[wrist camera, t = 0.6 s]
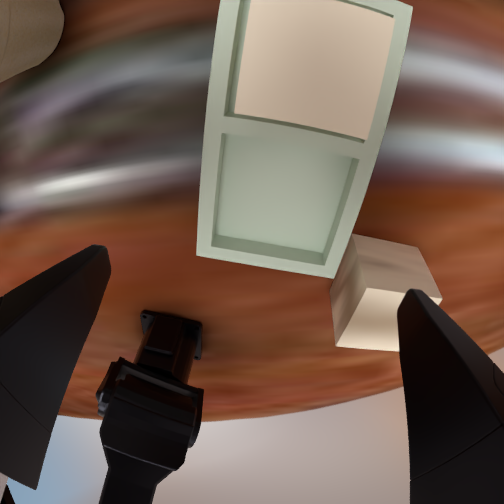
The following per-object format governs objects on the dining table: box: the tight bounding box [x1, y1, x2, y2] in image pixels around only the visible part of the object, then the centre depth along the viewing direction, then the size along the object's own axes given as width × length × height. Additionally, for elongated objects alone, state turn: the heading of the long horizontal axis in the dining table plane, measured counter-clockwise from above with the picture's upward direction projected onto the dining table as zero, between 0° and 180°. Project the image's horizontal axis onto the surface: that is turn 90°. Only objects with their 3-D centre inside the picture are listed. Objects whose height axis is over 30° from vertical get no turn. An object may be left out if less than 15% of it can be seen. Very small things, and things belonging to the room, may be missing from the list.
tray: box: [196, 0, 413, 279], centre depth 16 cm, size 19×10×6 cm, turn 172°
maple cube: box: [330, 234, 443, 351], centre depth 22 cm, size 6×6×6 cm
